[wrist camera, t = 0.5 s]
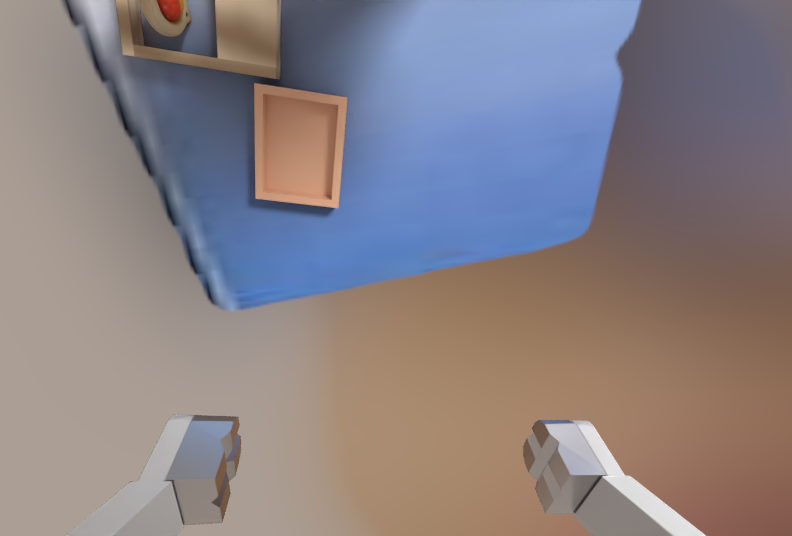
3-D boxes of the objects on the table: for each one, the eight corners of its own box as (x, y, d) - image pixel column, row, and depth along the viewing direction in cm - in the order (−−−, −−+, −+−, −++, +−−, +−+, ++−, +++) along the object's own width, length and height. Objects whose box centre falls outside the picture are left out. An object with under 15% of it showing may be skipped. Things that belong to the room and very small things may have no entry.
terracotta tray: (259, 83, 46) (254, 83, 44) (348, 97, 48) (347, 97, 46) (259, 194, 52) (255, 198, 50) (339, 203, 54) (338, 208, 51)
